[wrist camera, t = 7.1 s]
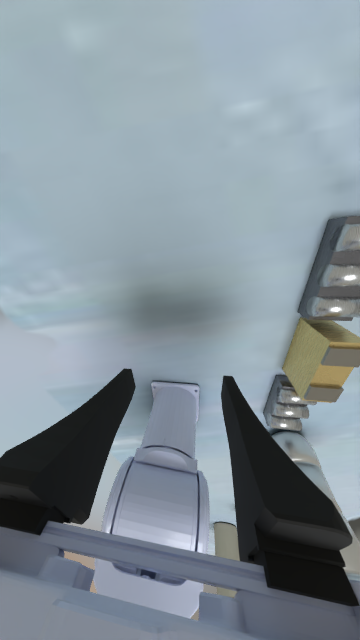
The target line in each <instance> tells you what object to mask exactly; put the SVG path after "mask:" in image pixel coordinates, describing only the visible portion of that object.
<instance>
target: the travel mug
mask: <svg viewBox="0 0 360 640" xmlns="http://www.w3.org/2000/svg"><path fill="white" fill-rule="evenodd" d="M214 534H215V556H218V557H223V558H227V559H232V560H237V561H240V558H239V548H238V536H237V528H236V527H235V526H234V525H232V524H229V523H225V522H217V523H216V524H214ZM236 593H237V591H232V590H228V589H224V588H220V587H217V595H223V596H228V597H231V598H234V597H235V594H236Z"/></svg>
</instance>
